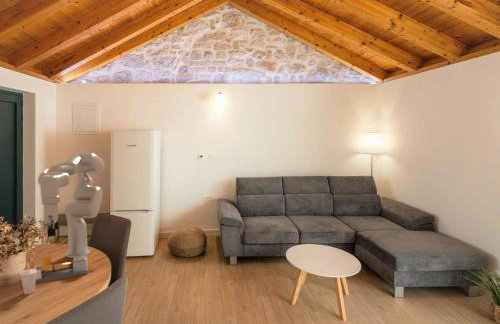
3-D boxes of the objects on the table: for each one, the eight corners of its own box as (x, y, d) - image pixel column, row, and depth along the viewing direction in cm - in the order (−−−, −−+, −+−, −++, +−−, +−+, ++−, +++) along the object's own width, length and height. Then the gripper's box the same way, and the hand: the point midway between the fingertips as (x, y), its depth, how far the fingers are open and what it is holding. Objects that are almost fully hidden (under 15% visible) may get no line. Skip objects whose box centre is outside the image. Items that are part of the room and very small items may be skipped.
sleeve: (74, 268, 159) (73, 257, 159) (87, 266, 162) (86, 255, 161) (73, 273, 154) (72, 261, 153) (86, 270, 156) (86, 259, 156)
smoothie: (24, 297, 133) (22, 266, 132) (18, 293, 136) (16, 263, 135) (40, 291, 138) (39, 261, 137) (34, 287, 142) (32, 258, 140)
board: (35, 276, 153) (34, 274, 152) (87, 267, 163) (87, 265, 163) (31, 283, 145) (31, 281, 145) (87, 273, 156) (87, 271, 156)
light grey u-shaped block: (35, 274, 152) (35, 265, 151) (43, 273, 153) (42, 264, 153) (33, 280, 146) (32, 270, 146) (41, 278, 148) (40, 269, 147)
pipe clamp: (45, 268, 162) (43, 256, 162) (52, 268, 161) (50, 256, 161) (24, 278, 150) (22, 266, 150) (31, 278, 149) (30, 266, 149)
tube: (38, 273, 151) (37, 265, 151) (75, 267, 158) (74, 259, 158) (36, 276, 148) (36, 268, 147) (74, 269, 155) (74, 262, 154)
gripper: (44, 196, 158) (47, 228, 160) (38, 205, 142) (41, 240, 144) (61, 195, 161) (64, 226, 163) (56, 203, 145) (59, 237, 148)
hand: (53, 232), depth 154 cm, fingers open, 9 cm apart
